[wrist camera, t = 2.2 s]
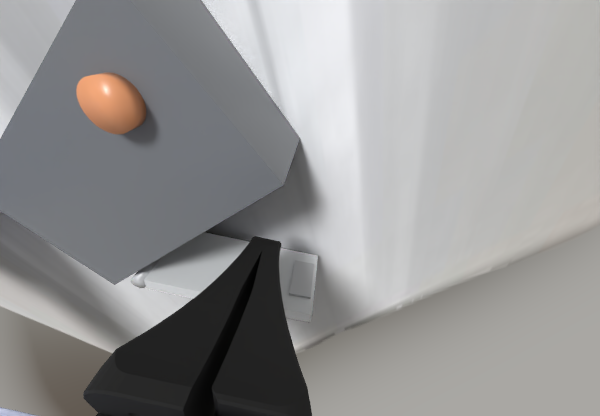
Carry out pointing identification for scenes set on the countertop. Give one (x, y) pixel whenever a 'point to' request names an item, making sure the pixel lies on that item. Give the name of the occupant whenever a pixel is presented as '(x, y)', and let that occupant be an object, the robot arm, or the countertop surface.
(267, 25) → the countertop surface
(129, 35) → the grey box
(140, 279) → the side door
